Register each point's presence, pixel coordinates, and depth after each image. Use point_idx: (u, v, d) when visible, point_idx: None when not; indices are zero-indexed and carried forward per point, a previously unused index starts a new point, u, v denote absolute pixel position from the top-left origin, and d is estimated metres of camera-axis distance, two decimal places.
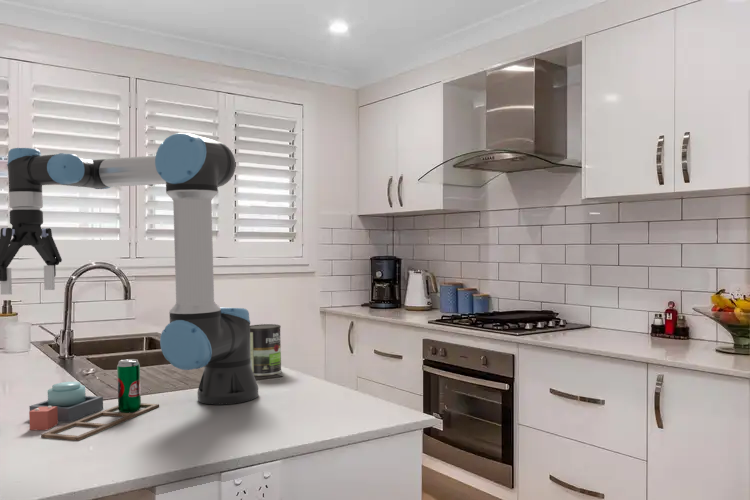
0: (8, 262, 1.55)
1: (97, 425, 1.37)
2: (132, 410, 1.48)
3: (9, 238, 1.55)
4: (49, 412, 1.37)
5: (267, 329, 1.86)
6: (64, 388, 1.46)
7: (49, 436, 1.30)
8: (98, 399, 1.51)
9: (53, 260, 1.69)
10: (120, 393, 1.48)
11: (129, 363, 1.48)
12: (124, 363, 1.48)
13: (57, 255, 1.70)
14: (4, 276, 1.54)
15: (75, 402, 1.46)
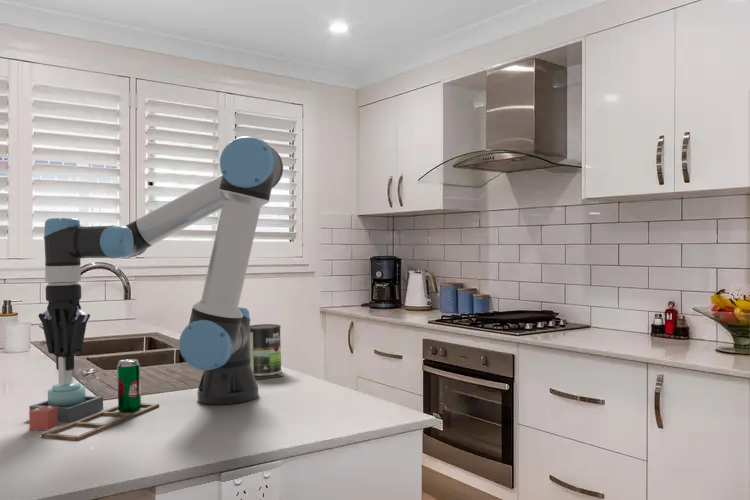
0: (56, 350, 1.48)
1: (97, 425, 1.37)
2: (132, 410, 1.48)
3: (44, 323, 1.49)
4: (49, 412, 1.37)
5: (267, 329, 1.86)
6: (64, 388, 1.46)
7: (49, 436, 1.30)
8: (98, 399, 1.51)
9: (65, 351, 1.47)
10: (120, 393, 1.48)
11: (129, 363, 1.48)
12: (124, 363, 1.48)
13: (72, 345, 1.46)
14: None
15: (75, 402, 1.46)
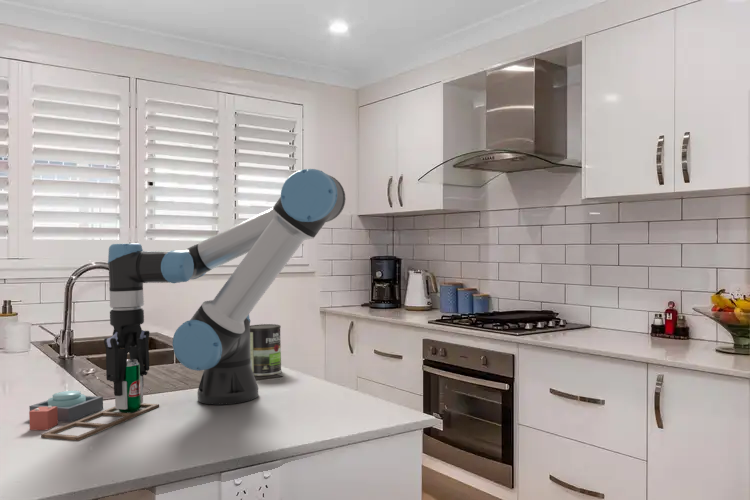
0: (123, 375, 1.47)
1: (97, 425, 1.37)
2: (132, 410, 1.48)
3: (116, 349, 1.45)
4: (49, 412, 1.37)
5: (267, 329, 1.86)
6: (64, 397, 1.46)
7: (49, 436, 1.30)
8: (98, 399, 1.51)
9: (142, 369, 1.53)
10: None
11: (129, 363, 1.48)
12: None
13: (147, 362, 1.55)
14: (120, 391, 1.46)
15: None
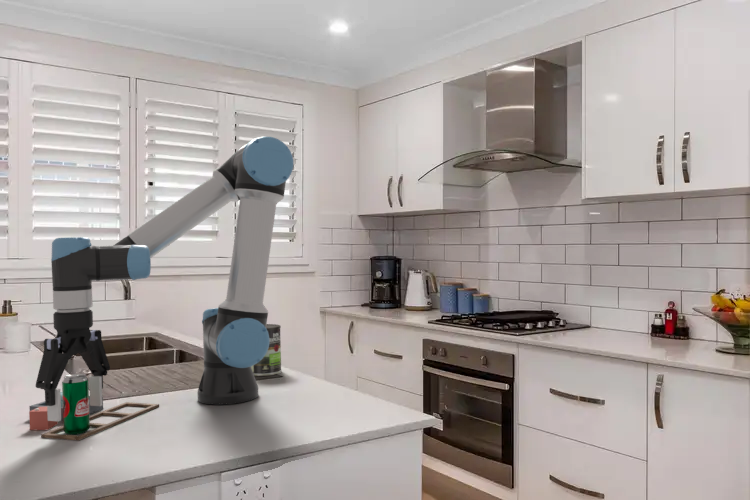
0: (57, 382, 1.28)
1: (97, 425, 1.37)
2: (79, 431, 1.32)
3: (55, 352, 1.27)
4: None
5: (267, 329, 1.86)
6: None
7: (49, 436, 1.30)
8: None
9: (101, 369, 1.40)
10: (65, 412, 1.32)
11: (75, 379, 1.32)
12: (69, 379, 1.32)
13: (105, 362, 1.41)
14: (52, 400, 1.27)
15: None
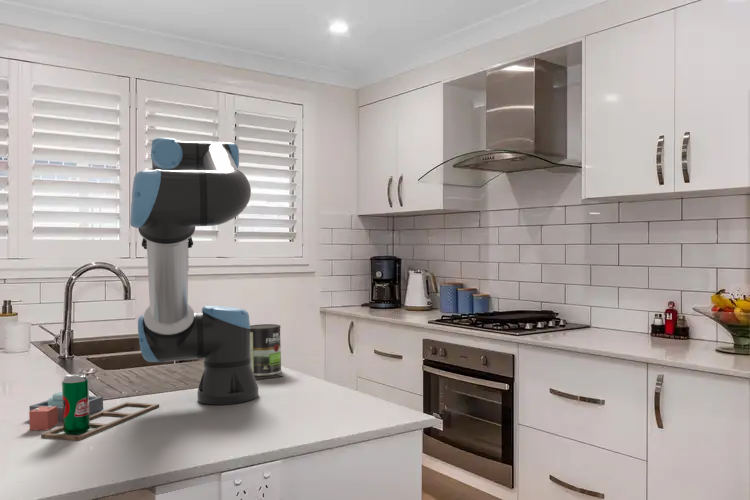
0: None
1: (97, 425, 1.37)
2: (79, 431, 1.32)
3: None
4: (49, 412, 1.37)
5: (267, 329, 1.86)
6: None
7: (49, 436, 1.30)
8: (98, 399, 1.51)
9: None
10: (65, 412, 1.32)
11: (75, 379, 1.32)
12: (69, 379, 1.32)
13: (190, 239, 1.82)
14: None
15: None
